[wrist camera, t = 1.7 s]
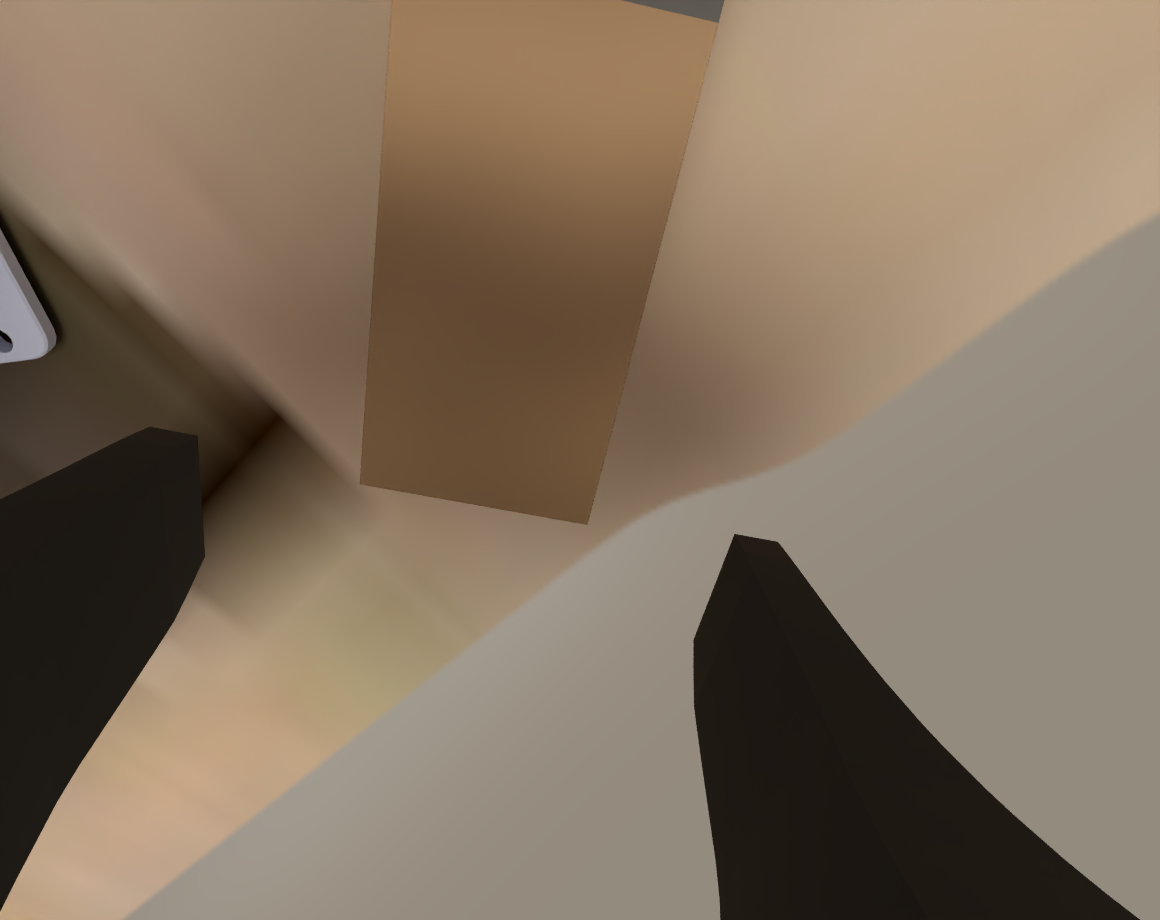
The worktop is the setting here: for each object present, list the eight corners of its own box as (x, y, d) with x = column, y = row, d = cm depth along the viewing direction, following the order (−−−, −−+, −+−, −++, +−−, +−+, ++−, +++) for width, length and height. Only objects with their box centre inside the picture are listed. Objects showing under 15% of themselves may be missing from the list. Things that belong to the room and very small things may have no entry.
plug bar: (592, 402, 18) (587, 524, 14) (411, 368, 18) (359, 484, 14) (743, -230, 12) (800, -296, 9) (477, -299, 12) (417, -400, 8)
